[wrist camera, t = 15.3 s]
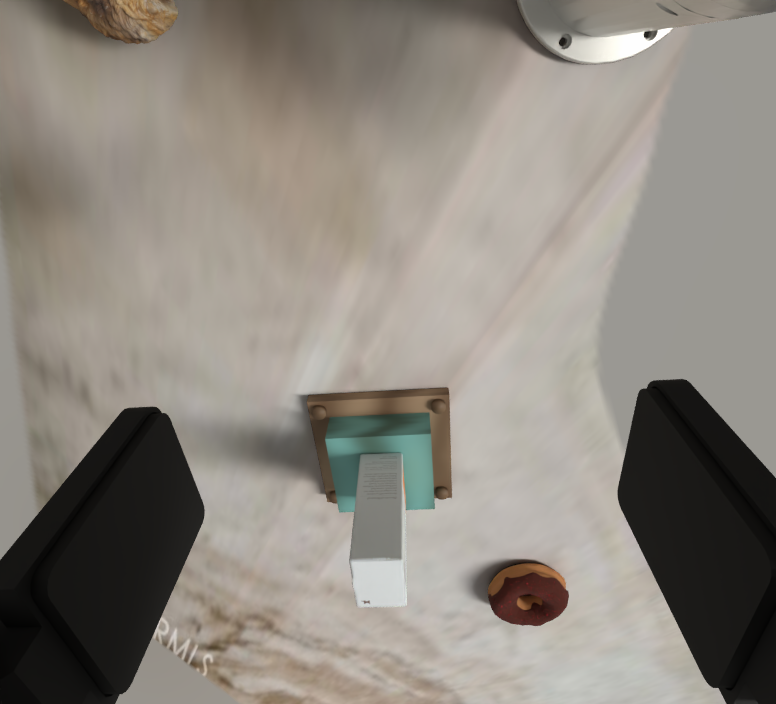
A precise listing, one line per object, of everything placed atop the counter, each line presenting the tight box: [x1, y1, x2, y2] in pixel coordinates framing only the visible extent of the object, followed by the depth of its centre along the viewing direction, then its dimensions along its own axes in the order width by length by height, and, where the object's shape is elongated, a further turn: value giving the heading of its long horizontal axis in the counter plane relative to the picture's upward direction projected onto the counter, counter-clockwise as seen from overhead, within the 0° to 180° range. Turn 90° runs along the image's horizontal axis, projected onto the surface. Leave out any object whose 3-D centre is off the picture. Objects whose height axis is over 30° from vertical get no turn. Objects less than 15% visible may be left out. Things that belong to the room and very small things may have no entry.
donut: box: [488, 563, 569, 626], centre depth 62 cm, size 10×10×4 cm
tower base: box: [307, 388, 452, 512], centre depth 50 cm, size 14×14×4 cm
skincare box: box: [349, 453, 407, 607], centre depth 43 cm, size 6×4×12 cm
